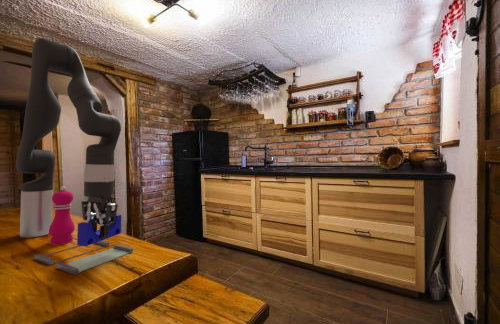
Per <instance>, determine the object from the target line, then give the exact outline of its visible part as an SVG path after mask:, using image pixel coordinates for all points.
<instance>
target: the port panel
mask: <svg viewBox="0 0 500 324" xmlns="http://www.w3.org/2000/svg"><path fill="white" fill-rule="evenodd" d="M96 243H97V244H96V245H99V244H100V245H99V246H102V245H103V246H102V247H98V248H96V249H92V250H89V251H86V252H84V253H79V254H77V255H74V256H71V257H68V258H65V259H64V258H63V259H61V260H58V261H55V260H54V259H53V258H51V257H48V256H51V255H54V254H58V253H60V252H64V250H65V251H68V250H71V248H72V249H75V248H78V247H77V246H78V245H76V246H73V247H68V248H66V249H63V250H59V251H55V252H51V253H47V254H45V255H43V254H40V253H38V254H34V260H36V261H39V262H40V263H42V264H45V265H48V266H51V265H54V264H55V265H56V269H58V270H61V271H63V272H65V273H68V274H70V275H73V276H74V275H77V274H80V273H82V272H85V271H87V270H90V269H93V268H96V267H98V266H100V265H102V264H106V263H107V262H110V261H113V260H115V259H118V258H121V257H123V256H126V255H128V254H131V253H134V248H133V247H129V246H125V245H123V244H122V245H121V244H117V243H115V244H113V245H112V246H113V247H112V248H109V249H106V250H103V251H100V252H97V253H94V254H91V255H87V256H85V257H82V258H80V259H77V260H73V261H71V262H67V263H65V262H64V260H65V261H68V260H70V258H71V259H74V258H77V257H80V256H83V255H85V254H89V253H91V251H92V252H95V251H98V250H101V249H103V248H104V249H105V248H107V247H109V246H110V242H109V241H106V240H102V241H99V242H96ZM94 250H95V251H94ZM79 255H80V256H79ZM67 259H68V260H67Z"/></svg>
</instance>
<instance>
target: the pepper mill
mask: <svg viewBox="0 0 500 324" xmlns="http://www.w3.org/2000/svg"><path fill="white" fill-rule="evenodd" d="M73 200H74V193H73V192H71V191H69V190H67V187H66V186H64V185H63V186H60V188H59V190H58V191H56V192H55V193H54V192H53V196H52V201H53V210H54V218H53V219H52V223H51V225H50V228H49V234H48V235H50V236H51V238H50V239H49V243H50V245H52V246H57V245H59V244H60V245H65V244H69V243H71V242H73V240H74V238H73V237H74V235H73V233H74V231H76V227H75V223H74V221H73V220H72V218H71V211H70V210H71V209H72V202H73ZM68 242H69V243H68ZM64 243H65V244H64Z"/></svg>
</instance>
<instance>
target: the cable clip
mask: <svg viewBox="0 0 500 324" xmlns="http://www.w3.org/2000/svg"><path fill="white" fill-rule="evenodd" d="M111 217H112V216H111ZM111 217H110V219H111ZM120 234H122V214H117V213H116V218H115V222H114V223H111V224H110V225H109V236H108V237H107V238H104V239H101V238H100V228H99V229H97V231H96V232H94V231H93V229H92V223H87V221H81V222H78V223H77V237H76V239H77V240H76V241H77V242H76V246H79V247H89V246H91V245H93V244H94V245H95V243H96V242H99V241H102V240H103V241H106V240H107V239H110V238H113V237H115V236H118V235H120Z"/></svg>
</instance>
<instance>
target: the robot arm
mask: <svg viewBox="0 0 500 324" xmlns="http://www.w3.org/2000/svg"><path fill="white" fill-rule="evenodd" d="M30 68H31V70H30V83H29V91H28V95H27V100H26V103H25V104H26V106H25V111H24V119H23V128H22V134H21V139H20V143H19V146H18V151H17V155H16V159H15V167H16V170H17V171H18V172H19V173H21V174H41V176H40V177H38V178H36V179H32V180H30V181H27V182H24V183H22V184H21V186H20V187H21V188H20V192H21V193H20V219H19V221H20V223H19V224H20V225H19V237H20V238H36V237H41V236H45V235H50V234H49V228H50V225H51V223H52V222H53V212H54V211H53V210H54V202H53V201H52V196H53V194H54V180H55V167H56V156H55V153H54V151H52V150H49V149H34V148H35V146H36V145H37V144H38V142H40V141H41V140H42V139H43V138H45V137H46V136H48V135H49V134H50V133H51V132H53V131H54V130H55V129H56V128H57V127H58V125H59V122H60V119H61V113H62V106H61V104H60V102H59V99H58V98H57V96H56V95H55V94H54V91H53V90H52V88H51V86H50V83H49V71H53V72H57V73H62V74H68V75H69V76H70V77H71V79H70V81H69V83H68V84H67V89H66V90H67V96H68V98H69V100H70V101H71V103H72V105H73V108H75V111H76V115H77V121H78V127H79V129H80V130H81V131H82V132H83V133H84V134H86V135H88V136H92V137H101V139H100V140H99V143H94V144H89V145H87V147H86V148H85V168H84V174H83V175H84V177H83V196H84V197H86V198H87V199H86V200H85V199H84V200H81V212H82V220H83V221H86V222H87V223H92V229H93V231H94V232H96V231H97V230H98V220H99V225H100V226H99V229H100V238H101V239H104V238H107V237H108V236H109V225H110V224H111V223H114V222H115V218H116V214H117V211H118V207H119V205H118V203H113V202H112V201H111V196H113V195H114V194H115V167H114V165H115V164H114V163H115V162H114V161H115V150H116V148H117V147H116V146H117V144H118V141H119V138H120V135H121V130H122V125H121V122H120V120H119V118H118V117H117V116H114V115H111V114H107V113H103V109H104V108H103V107H104V106H103V103H102V101H101V100H100V98H99V97H98V95H97V93H96V92H95V90H94V89H93V87H92V86H91V83H90V82H89V79H88V76H87V73H86V70H85V68H84V66H83V63H82V59H81V58H80V56H79V54H78V52H77V51H76V50H75V49H74V48H73V47H71V46H70V45H67V44H64V43H60V42H58V41H54V40H50V39H48V38H44V37H38V38H36V40H35V41H34V44H33V47H32V54H31V67H30ZM111 216H112V217H111ZM110 217H111V219H110ZM107 239H108V238H107Z"/></svg>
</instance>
